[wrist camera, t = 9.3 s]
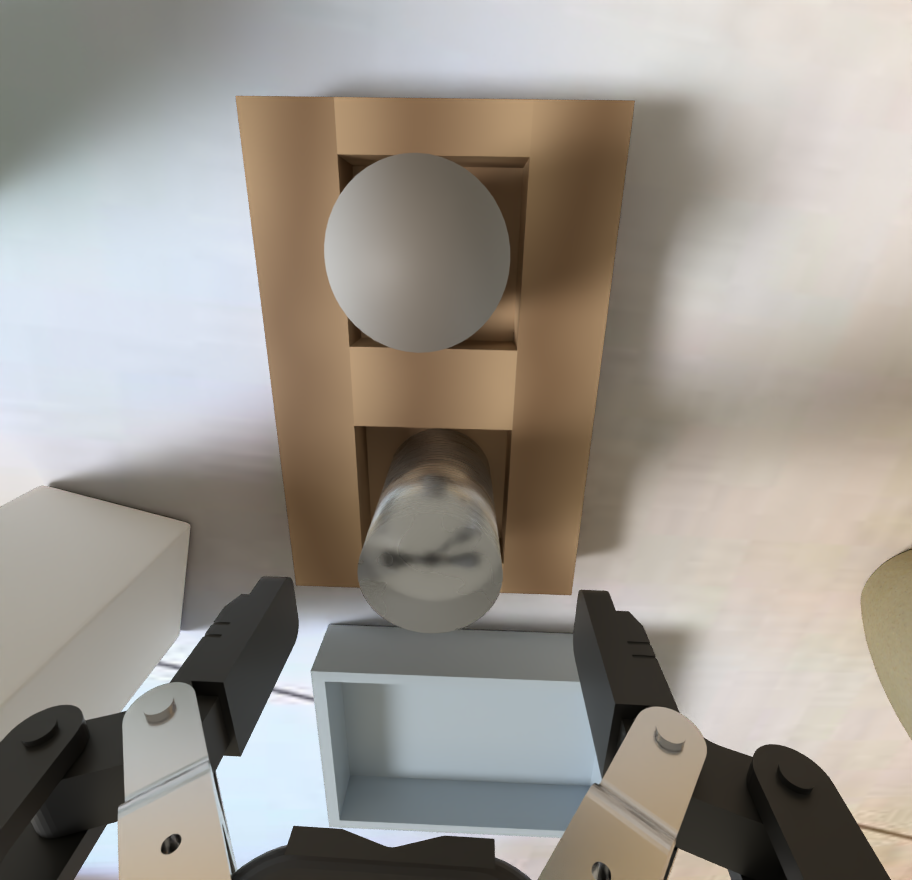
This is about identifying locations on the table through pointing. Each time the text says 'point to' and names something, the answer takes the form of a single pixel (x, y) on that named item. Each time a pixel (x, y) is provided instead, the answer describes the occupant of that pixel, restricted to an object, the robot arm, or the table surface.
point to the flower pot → (891, 631)
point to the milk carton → (84, 602)
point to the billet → (433, 536)
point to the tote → (452, 730)
